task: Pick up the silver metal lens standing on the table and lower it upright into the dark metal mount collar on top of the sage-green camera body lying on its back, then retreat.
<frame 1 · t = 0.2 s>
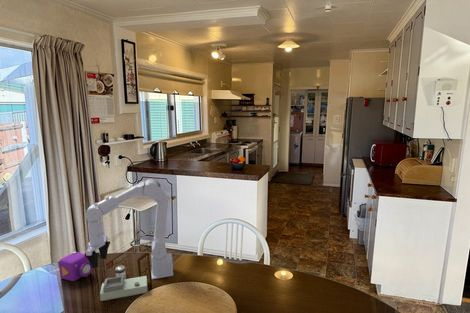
hand: (99, 263, 131), 10 cm above the table, tool pointing down, fingers open, 7 cm apart
toy camera: (78, 276, 140), on the table
lens: (121, 280, 135), on the table
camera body: (124, 291, 127), on the table
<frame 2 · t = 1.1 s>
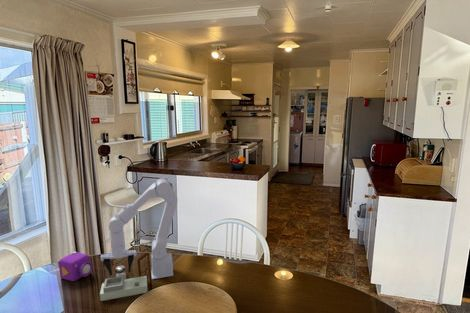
hand: (120, 272, 135), 4 cm above the table, tool pointing down, fingers open, 7 cm apart
nothing on the table moved.
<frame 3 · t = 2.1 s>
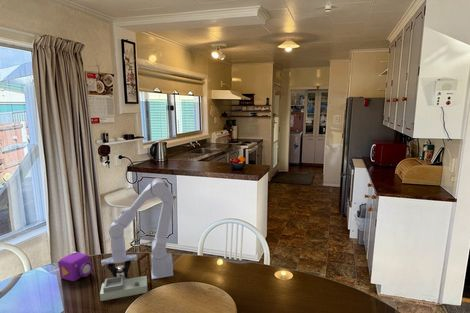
hand: (121, 277, 135), 1 cm above the table, tool pointing down, fingers closed on lens, 4 cm apart
lens: (121, 280, 135), on the table, touching gripper
everything else where it was.
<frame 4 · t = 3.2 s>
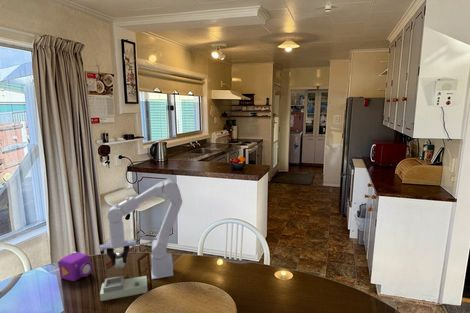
hand: (119, 263, 134), 8 cm above the table, tool pointing down, fingers closed on lens, 4 cm apart
lens: (120, 266, 134), point 7 cm above the table, touching gripper
everything else where it was.
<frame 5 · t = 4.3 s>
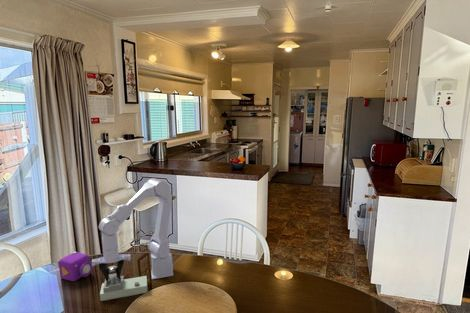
hand: (113, 278, 125), 6 cm above the table, tool pointing down, fingers closed on lens, 4 cm apart
lens: (113, 281, 126), point 5 cm above the table, touching gripper
everything else where it was.
when the fingers open (6 cm above the table, at t = 4.8 s): lens drops 1 cm, resting on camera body.
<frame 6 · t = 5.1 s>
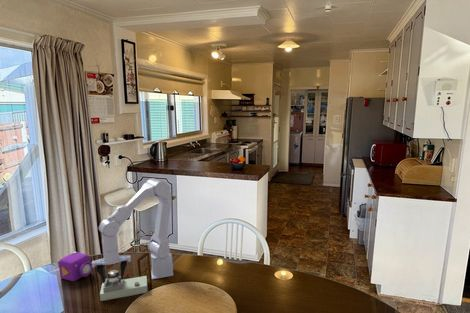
hand: (113, 279, 125), 6 cm above the table, tool pointing down, fingers open, 6 cm apart
lens: (114, 286, 126), point 3 cm above the table, touching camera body
everything else where it was.
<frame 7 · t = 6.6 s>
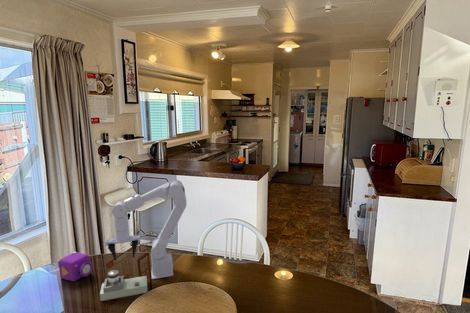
hand: (124, 257, 136), 9 cm above the table, tool pointing down, fingers open, 7 cm apart
nothing on the table moved.
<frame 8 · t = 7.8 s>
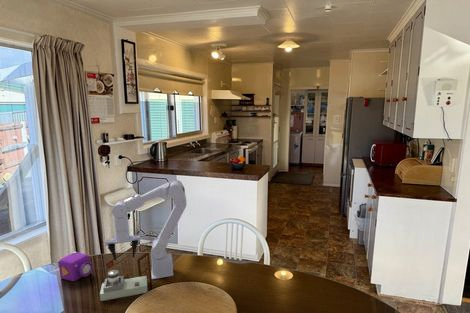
hand: (124, 257, 136), 9 cm above the table, tool pointing down, fingers open, 7 cm apart
nothing on the table moved.
at the end: lens 0.1 cm from the target spot on the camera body, point 3.0 cm above the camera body's base; lens tilted 1°; the gripper is holding nothing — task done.
